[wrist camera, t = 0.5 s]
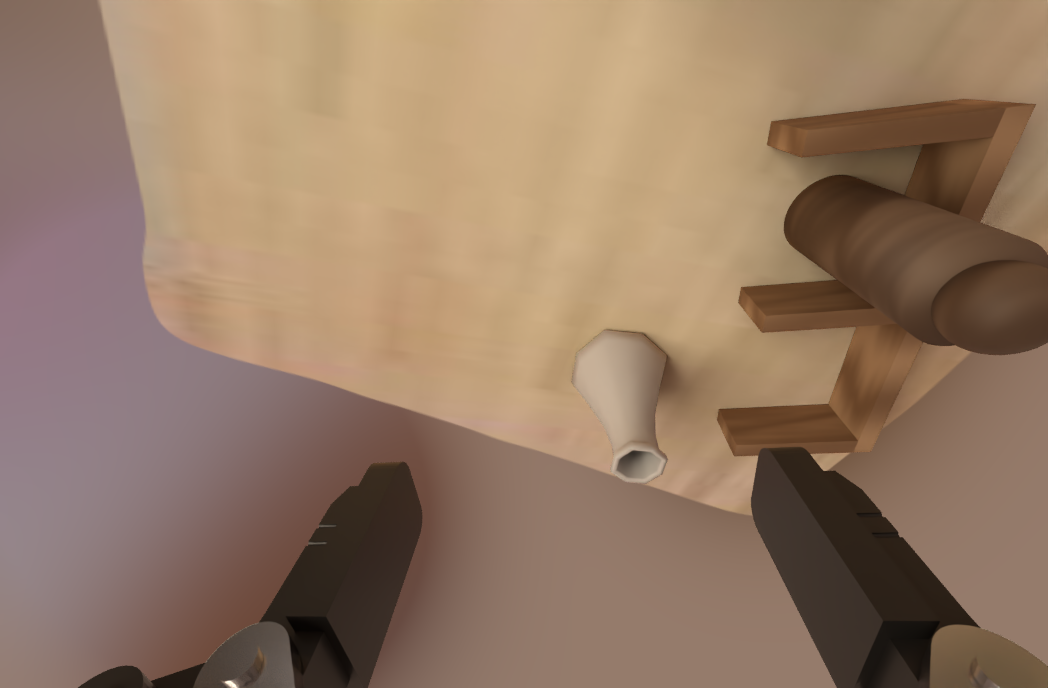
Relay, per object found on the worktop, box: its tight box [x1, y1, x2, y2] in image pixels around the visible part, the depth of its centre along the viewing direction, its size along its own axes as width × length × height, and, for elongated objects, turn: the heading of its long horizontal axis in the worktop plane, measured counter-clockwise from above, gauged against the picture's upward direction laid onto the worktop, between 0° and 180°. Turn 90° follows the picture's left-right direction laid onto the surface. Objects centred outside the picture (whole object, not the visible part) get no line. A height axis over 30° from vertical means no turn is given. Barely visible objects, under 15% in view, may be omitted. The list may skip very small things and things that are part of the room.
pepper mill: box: [784, 175, 1048, 355], centre depth 20 cm, size 5×5×14 cm
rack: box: [717, 99, 1036, 456], centre depth 27 cm, size 23×10×4 cm, turn 7°
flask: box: [571, 330, 668, 484], centre depth 29 cm, size 7×7×10 cm
